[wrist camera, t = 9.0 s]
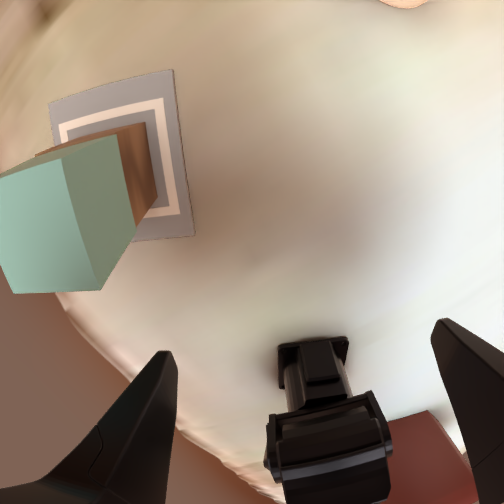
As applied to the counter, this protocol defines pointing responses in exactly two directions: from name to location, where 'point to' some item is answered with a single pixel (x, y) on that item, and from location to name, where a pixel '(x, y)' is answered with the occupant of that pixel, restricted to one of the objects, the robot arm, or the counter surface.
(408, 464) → the bucket
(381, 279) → the counter surface
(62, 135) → the mat
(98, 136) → the walnut block
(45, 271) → the teal block
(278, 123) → the counter surface
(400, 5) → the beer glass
